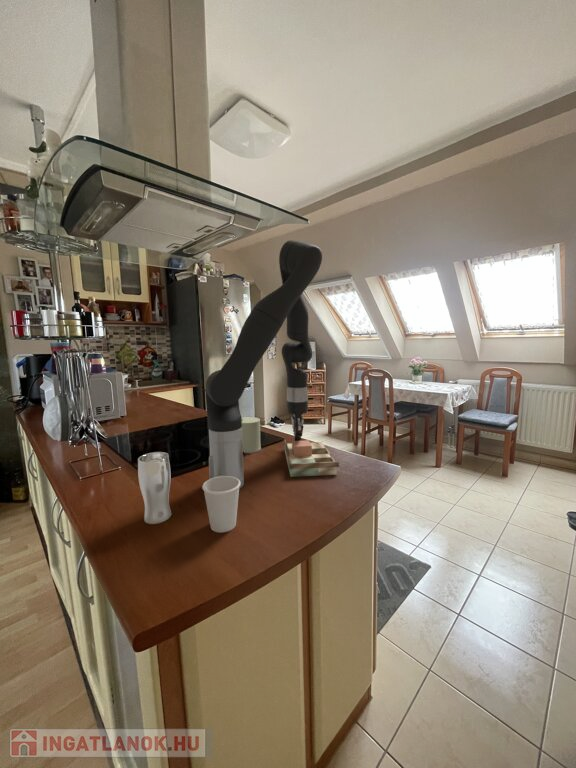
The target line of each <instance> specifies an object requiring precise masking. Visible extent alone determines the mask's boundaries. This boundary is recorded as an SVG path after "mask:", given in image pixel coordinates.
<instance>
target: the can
mask: <svg viewBox="0 0 576 768" xmlns="http://www.w3.org/2000/svg"><path fill="white" fill-rule="evenodd" d="M241 418H242V441H243V452H244V453H243V454H253V453H256V452H259V451H261V450H262V447H261V419H260V418H259V417H256V416H255V417H253V416H246V417H244V416H243V417H241Z"/></svg>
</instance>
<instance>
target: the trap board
mask: <svg viewBox="0 0 576 768" xmlns="http://www.w3.org/2000/svg"><path fill="white" fill-rule="evenodd" d="M283 441H284V442H283V443H284V453H285V458H286V464H287V467H288V472H289V476H290V478H293V477H294V478H295V477H296V478H297V477H314V476H332V475H333V476H334V475H335V476H336V475H337V474H338V468H339V467H340V464H339V463H340V461H339V460H338V461H336V460H335V458H334V457H333V456H331V455H332V454H331V452H330V450H329V449H328V448H327V447H326V446H325V445H324V443H323V441H321V442H320V441H319V442H318V441H317V442H310V444H311V445H312V456H299V457H294V455H293V452H292V442H291V443H290V442H289V443H288V442H287V439H284V440H283ZM317 443H318V444H317Z"/></svg>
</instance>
